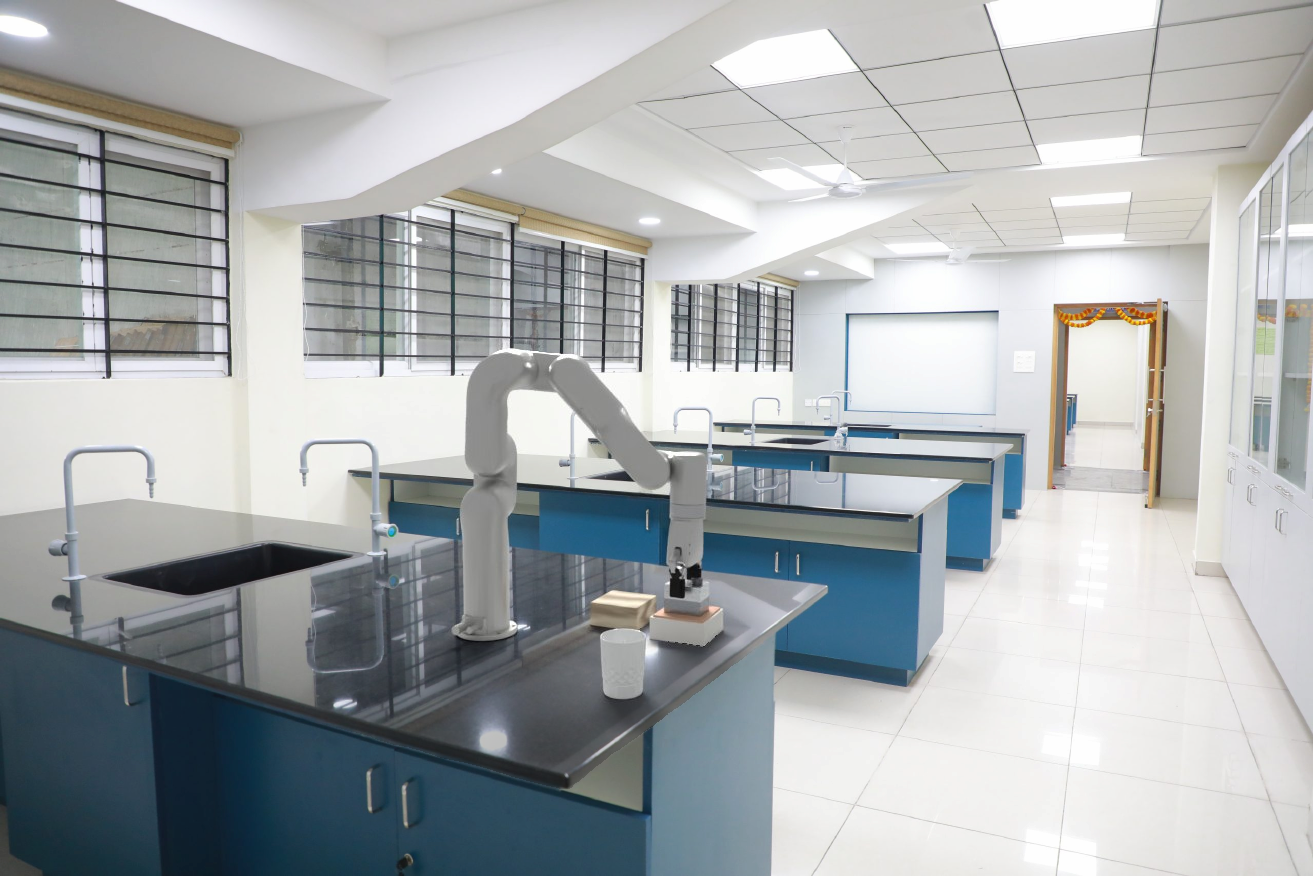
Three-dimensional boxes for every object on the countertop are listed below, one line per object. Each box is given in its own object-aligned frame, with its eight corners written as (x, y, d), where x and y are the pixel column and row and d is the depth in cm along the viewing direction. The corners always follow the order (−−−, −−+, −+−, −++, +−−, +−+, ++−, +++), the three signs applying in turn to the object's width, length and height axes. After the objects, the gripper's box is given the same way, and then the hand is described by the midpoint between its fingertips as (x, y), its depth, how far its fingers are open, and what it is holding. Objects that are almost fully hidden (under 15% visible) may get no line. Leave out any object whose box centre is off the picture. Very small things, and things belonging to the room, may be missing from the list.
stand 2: (704, 646, 168) (704, 622, 168) (649, 639, 173) (649, 615, 172) (722, 629, 179) (723, 607, 179) (670, 622, 184) (671, 600, 183)
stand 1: (636, 631, 177) (636, 608, 177) (590, 624, 182) (590, 602, 181) (656, 617, 188) (656, 595, 187) (612, 611, 192) (612, 590, 191)
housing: (664, 612, 174) (664, 578, 174) (673, 605, 179) (674, 572, 179) (700, 616, 171) (700, 582, 171) (708, 609, 176) (709, 576, 176)
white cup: (621, 680, 150) (621, 625, 149) (655, 691, 145) (655, 634, 144) (590, 693, 144) (590, 636, 143) (624, 705, 139) (625, 646, 138)
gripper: (685, 503, 183) (683, 580, 184) (655, 516, 167) (653, 599, 168) (718, 506, 180) (715, 584, 182) (690, 519, 164) (687, 604, 166)
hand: (685, 591), depth 175 cm, fingers open, 9 cm apart
